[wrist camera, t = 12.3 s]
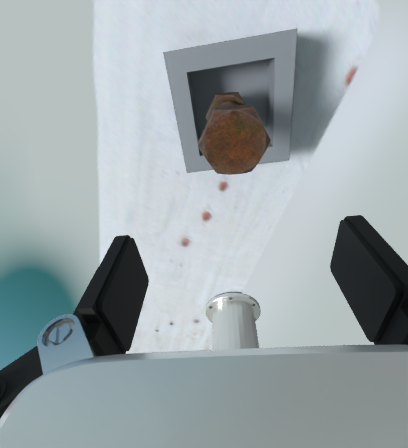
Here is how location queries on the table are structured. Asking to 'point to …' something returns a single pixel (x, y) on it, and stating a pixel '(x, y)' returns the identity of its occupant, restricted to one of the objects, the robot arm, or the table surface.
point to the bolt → (233, 135)
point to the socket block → (235, 88)
